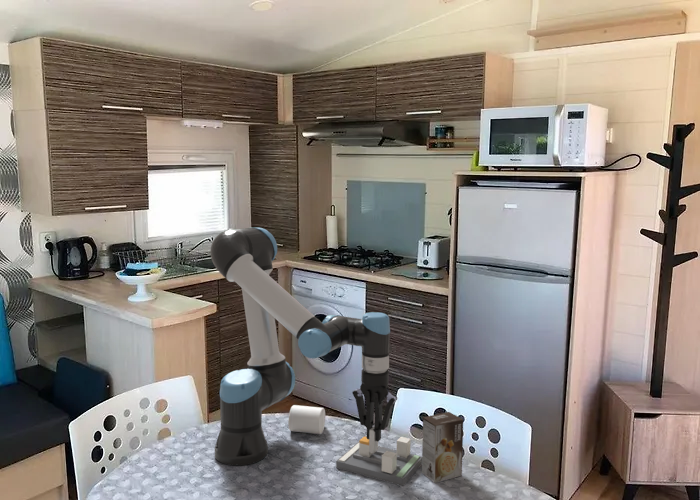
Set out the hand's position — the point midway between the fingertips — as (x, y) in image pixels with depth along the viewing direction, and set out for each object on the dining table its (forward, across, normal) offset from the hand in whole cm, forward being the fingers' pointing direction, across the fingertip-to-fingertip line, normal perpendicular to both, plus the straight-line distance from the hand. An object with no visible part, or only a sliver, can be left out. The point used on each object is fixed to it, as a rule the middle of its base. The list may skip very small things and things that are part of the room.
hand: (373, 450), depth 164 cm
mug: (+4, -28, +11) cm, 30 cm away
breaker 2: (+2, +7, +5) cm, 9 cm away
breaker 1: (+2, +7, -5) cm, 9 cm away
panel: (+4, +2, 0) cm, 4 cm away
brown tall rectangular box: (+4, +19, +4) cm, 19 cm away
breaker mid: (+2, -2, 0) cm, 3 cm away
